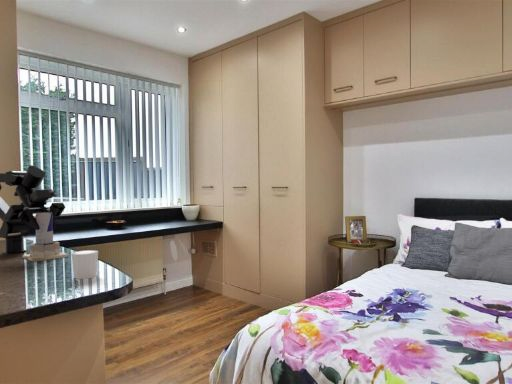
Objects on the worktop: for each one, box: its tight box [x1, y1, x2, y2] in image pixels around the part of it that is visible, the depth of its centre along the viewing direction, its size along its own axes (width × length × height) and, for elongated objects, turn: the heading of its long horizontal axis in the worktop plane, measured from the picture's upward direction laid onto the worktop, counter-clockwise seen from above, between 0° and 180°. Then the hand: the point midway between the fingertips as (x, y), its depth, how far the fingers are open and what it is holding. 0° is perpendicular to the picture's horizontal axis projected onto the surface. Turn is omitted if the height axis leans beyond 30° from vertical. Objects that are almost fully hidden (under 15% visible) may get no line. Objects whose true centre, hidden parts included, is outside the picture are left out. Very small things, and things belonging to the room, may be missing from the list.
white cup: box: [71, 249, 99, 280], centre depth 101 cm, size 7×7×7 cm
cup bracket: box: [22, 241, 69, 263], centre depth 128 cm, size 11×11×5 cm
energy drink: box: [35, 212, 54, 245], centre depth 128 cm, size 5×5×12 cm
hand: (46, 228), depth 128 cm, fingers closed on energy drink, 5 cm apart
